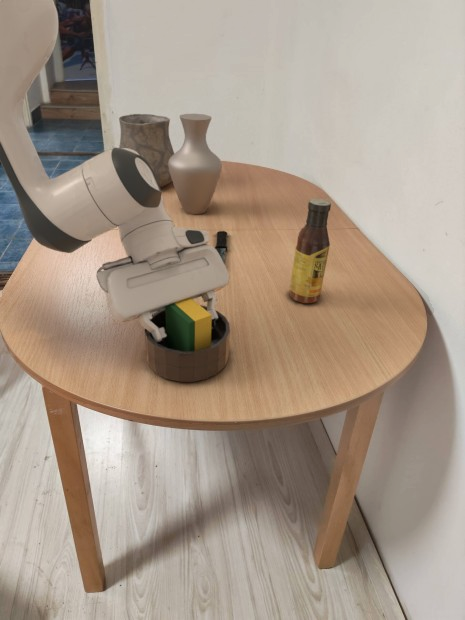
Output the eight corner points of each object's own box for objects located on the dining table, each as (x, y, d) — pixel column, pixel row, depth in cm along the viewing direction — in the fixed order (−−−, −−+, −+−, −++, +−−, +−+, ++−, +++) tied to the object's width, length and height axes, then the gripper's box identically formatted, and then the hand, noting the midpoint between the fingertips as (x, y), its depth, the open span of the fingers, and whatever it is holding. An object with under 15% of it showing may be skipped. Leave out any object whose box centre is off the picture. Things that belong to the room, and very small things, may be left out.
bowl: (176, 396, 66) (175, 365, 63) (131, 350, 75) (129, 320, 71) (244, 362, 74) (246, 332, 70) (197, 324, 82) (197, 296, 79)
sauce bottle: (313, 308, 88) (330, 211, 77) (283, 299, 91) (296, 203, 80) (324, 294, 93) (341, 200, 82) (296, 285, 96) (309, 193, 85)
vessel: (96, 184, 143) (88, 117, 132) (146, 170, 159) (143, 108, 148) (146, 200, 133) (142, 129, 122) (194, 183, 149) (194, 118, 138)
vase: (202, 223, 121) (203, 124, 107) (159, 211, 126) (155, 116, 113) (229, 208, 132) (234, 116, 118) (188, 197, 137) (188, 108, 124)
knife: (216, 230, 115) (228, 230, 115) (216, 235, 115) (228, 235, 115) (212, 268, 97) (226, 268, 97) (212, 274, 98) (226, 274, 98)
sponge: (189, 370, 70) (189, 323, 66) (166, 347, 75) (164, 301, 70) (210, 361, 73) (211, 314, 68) (186, 339, 77) (186, 294, 72)
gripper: (96, 258, 64) (133, 349, 63) (215, 229, 74) (248, 306, 73) (87, 273, 69) (121, 357, 68) (199, 244, 80) (230, 316, 79)
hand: (188, 330), depth 71 cm, fingers open, 8 cm apart
